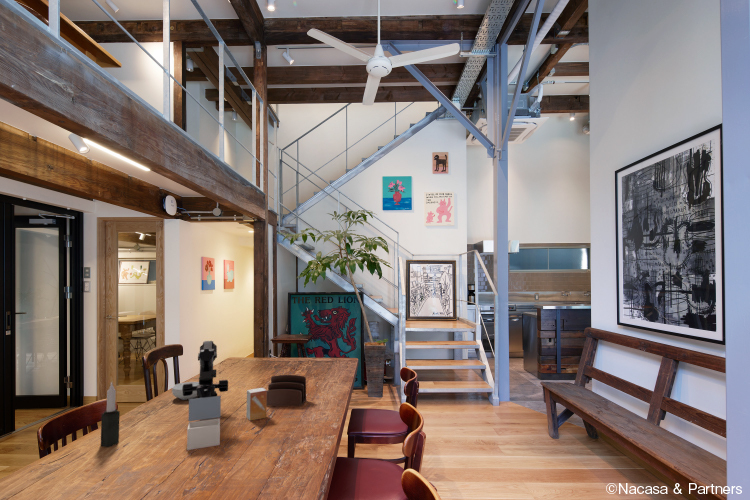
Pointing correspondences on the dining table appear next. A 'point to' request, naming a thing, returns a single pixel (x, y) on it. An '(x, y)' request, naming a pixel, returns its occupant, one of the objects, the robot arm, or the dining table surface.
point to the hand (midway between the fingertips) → (205, 405)
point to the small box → (256, 403)
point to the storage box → (203, 434)
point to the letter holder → (286, 390)
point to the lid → (204, 408)
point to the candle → (110, 421)
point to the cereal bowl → (179, 393)
